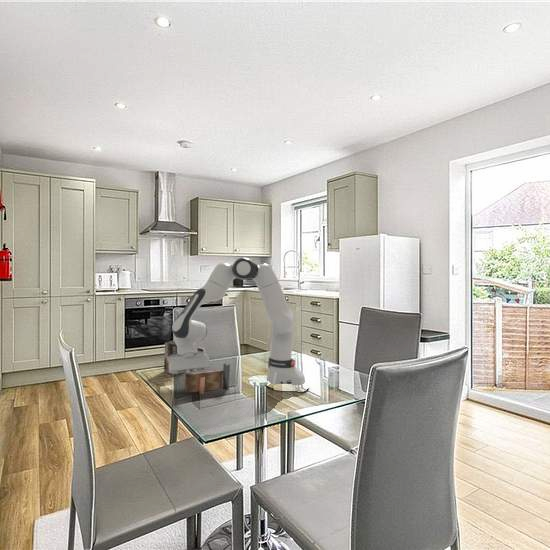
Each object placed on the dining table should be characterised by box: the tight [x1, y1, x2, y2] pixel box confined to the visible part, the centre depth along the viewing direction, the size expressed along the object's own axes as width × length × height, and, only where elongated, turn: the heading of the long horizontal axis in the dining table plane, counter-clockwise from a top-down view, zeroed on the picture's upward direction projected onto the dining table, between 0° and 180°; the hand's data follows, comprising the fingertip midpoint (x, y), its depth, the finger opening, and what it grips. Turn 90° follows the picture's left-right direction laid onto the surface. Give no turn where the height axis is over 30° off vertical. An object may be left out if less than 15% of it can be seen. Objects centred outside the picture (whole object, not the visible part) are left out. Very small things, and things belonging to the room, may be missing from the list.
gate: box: [184, 369, 223, 394], centre depth 190 cm, size 18×2×9 cm, turn 120°
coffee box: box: [163, 340, 180, 375], centre depth 216 cm, size 9×6×16 cm
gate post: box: [222, 362, 231, 390], centre depth 196 cm, size 3×3×12 cm
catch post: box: [198, 377, 205, 395], centre depth 188 cm, size 2×2×7 cm
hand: (192, 379), depth 191 cm, fingers closed
